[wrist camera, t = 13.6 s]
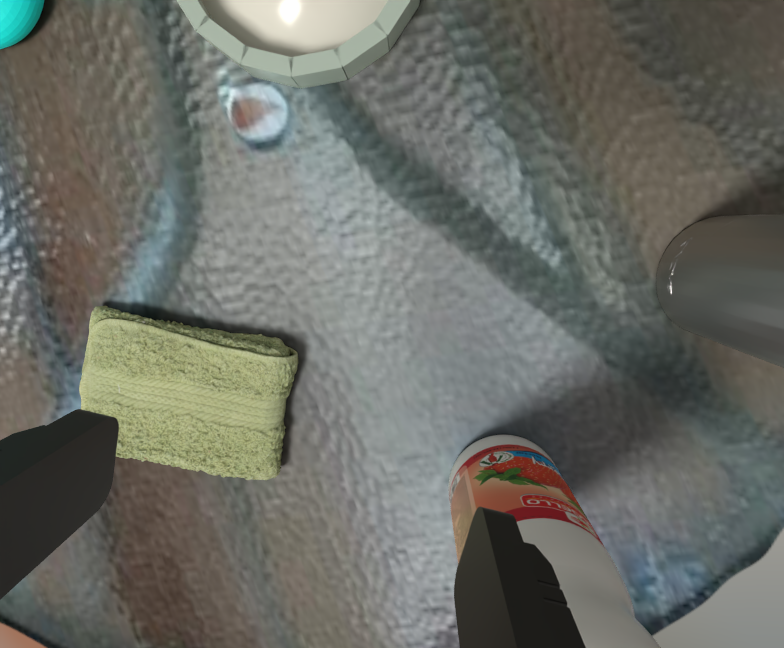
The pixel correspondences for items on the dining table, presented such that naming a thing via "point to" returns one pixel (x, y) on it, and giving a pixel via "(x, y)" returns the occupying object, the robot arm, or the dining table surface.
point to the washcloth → (189, 393)
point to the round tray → (301, 35)
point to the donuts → (18, 19)
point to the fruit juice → (547, 533)
